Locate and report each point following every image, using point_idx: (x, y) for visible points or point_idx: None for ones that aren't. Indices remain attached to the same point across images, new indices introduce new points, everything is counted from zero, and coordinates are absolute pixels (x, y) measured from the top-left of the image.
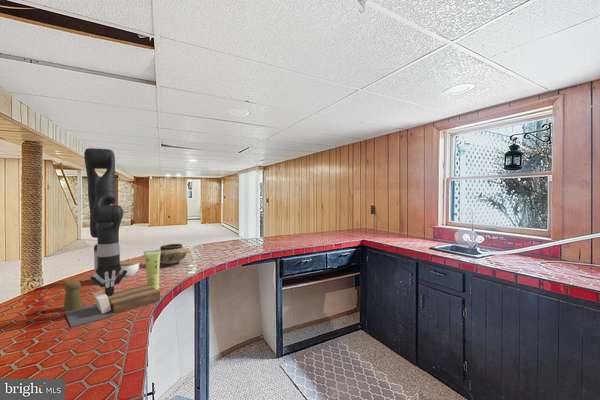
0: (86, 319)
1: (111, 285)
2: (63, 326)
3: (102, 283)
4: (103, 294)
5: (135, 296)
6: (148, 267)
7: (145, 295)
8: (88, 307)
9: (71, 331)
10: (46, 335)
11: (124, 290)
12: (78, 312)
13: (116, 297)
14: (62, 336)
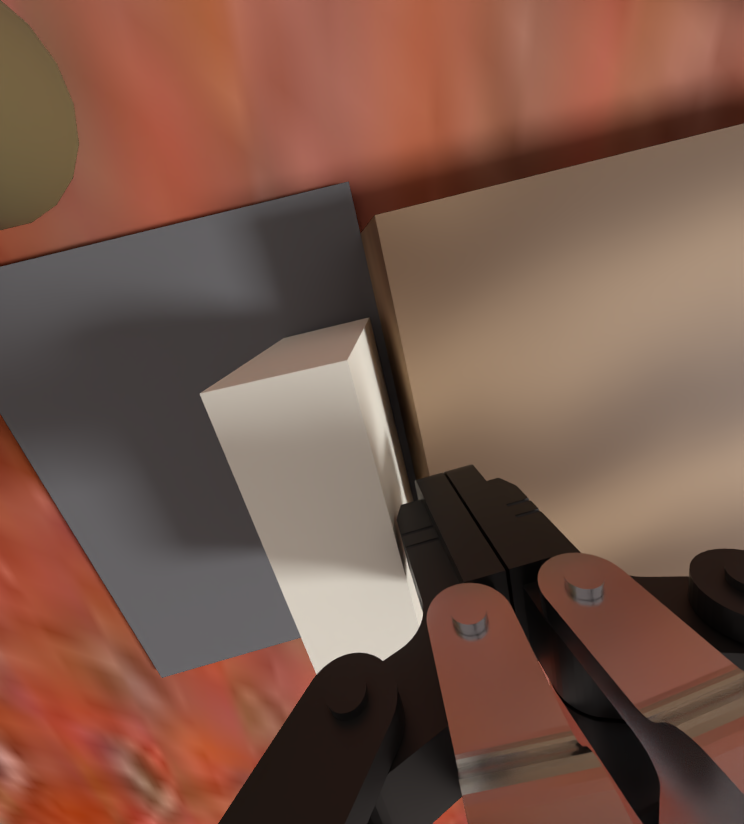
0: (241, 599)
1: (570, 704)
2: (90, 621)
3: (406, 788)
4: (378, 577)
5: (681, 528)
6: None
7: None
8: (183, 280)
9: (185, 713)
10: (27, 710)
11: (656, 154)
12: (111, 391)
13: (508, 449)
14: (150, 753)
